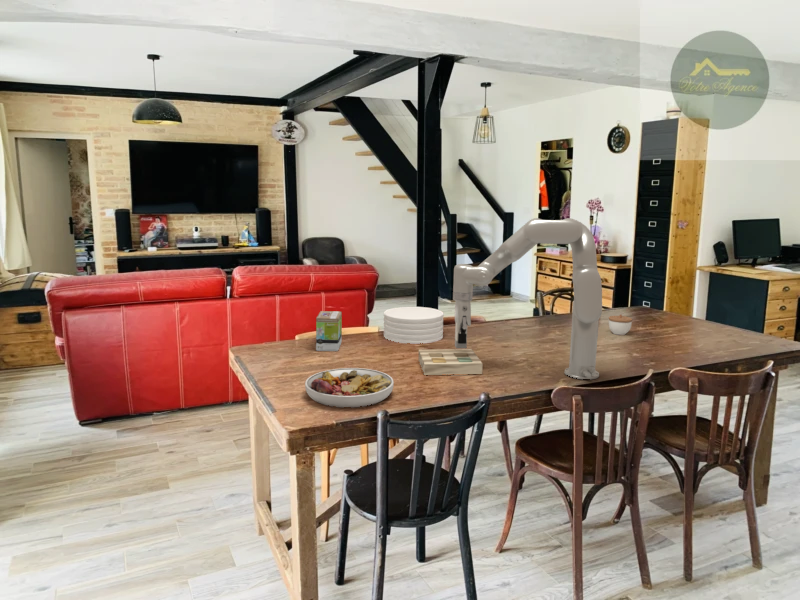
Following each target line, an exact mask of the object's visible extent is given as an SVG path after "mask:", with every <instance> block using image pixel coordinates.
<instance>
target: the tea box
mask: <svg viewBox="0 0 800 600" xmlns="http://www.w3.org/2000/svg"><path fill="white" fill-rule="evenodd" d="M342 313H343V312H342V311H337V310H336V311H331V310H330V311H327V310H326V311H325V310H320V312H318V314H317V316H316V318H315V320H316V321H315V323H316V324H315V327H316V329H315V335H316V336H315V350H316V351H318V352H319V351H320V352H338V351H339V350H340V348H341V344H342V342H343V341H342V337H343V335H342V333H343V332H342V331H343V329H342V328H343V327H342V326H343V325H342V324H343V323H342V322H343V321H342V319H343V318H342V316H343V314H342Z"/></svg>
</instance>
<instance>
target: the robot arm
mask: <svg viewBox="0 0 800 600" xmlns="http://www.w3.org/2000/svg"><path fill="white" fill-rule="evenodd" d="M537 244H542V245H543V244H544V245H545V244H546V245H547V244H548V245H549V244H550V245H555V244H556V245H570V248H571V257H572V278H571V280H572V284H573V301H572V311H571V314H572V315H571V332H570V333H571V334H570V348H569V349H570V350H569V364H568V365H569V366H568V367H566V368H565V369H564V375H565V376H567V375H568V376H567V377H569V376H570V378H572V377H573V378H572V379H576V378H577V379H576V380H583V379H590V380H595V379H598V378H599V377H600V372H599V371H598V370H596V365H597V364H596V363H597V349H598V336H599V319H600V318H601V316H602V313H603V293H602V291H603V288H602V278H601V274H600V272H599V271H598V261H597V260H598V259H597V248H596V243H595V238H594V235H593V233H592V232H591V230H590V229H589V227H587V226H586V225H585V223H583V222H581V221H579V220H577V219H574V218H570V217H569V218H567V217H566V218H564V219H555V220H554V219H542V218H538V217H535V218H531V219H529V220H528V221H527V222H526V223H524V225H522V226H521V227H520V228H519V229H518V230H517V231H515V232H514V233H513V234H512V235H511V236H510V237H509V238H507V239H506V240H505V241H504V242H503V243H502V244H501V245H500V246H499V247H498V248H497V249H496V250H494V252H493V253H491V254H490V255H489V256H488V257H487V258H486V259H484V260H483V261H482V262H481V263H480V264H479V265H477V266H473V265H471V264H466V263H464V264H463V263H461V264H456V265H454V268H453V288H452V291H453V292H452V300H453V301H455V302H454V322H455V324H456V323H457V325H458V326H459V333H458V343H459V344H466V337H467V338H468V327H471V325H472V319H471V318H472V308H471V302H472V301H473V294H474V293H473V292H474V285H475V286H482V287H483V286H487V285H489V284H491V282H492V280H493V279H494V278H495V277H496V276H497V275H498V274H499V273H501V272H502V271H503V270H505V268H507V267H508V266H509V265H511V264H513V263H515V262H517V261H518V260H520V259H521V258H522V257H523V256H524V255H526V254H527V253H528V252H529V251H530V250H532V249H533V248H534V247H535V246H537ZM461 324H463V326H461ZM461 327H462V328H461ZM466 333H467V334H466Z"/></svg>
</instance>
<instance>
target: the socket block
mask: <svg viewBox="0 0 800 600" xmlns="http://www.w3.org/2000/svg"><path fill="white" fill-rule="evenodd" d="M419 362H420V363H419ZM418 363H419V366H420V365H421V366H420V367H422V368H421V371H422V370H423V371H422V373H423V372H424V373H423V376H424V375H442V374H446V375H447V374H448V375H449V374H482V375H483V362H482V360H481V359H480V358H479V356H477V354H476V353H475V351H474V350H473V349H472V348H455V349H449V348H448V349H446V348H445V349H418Z"/></svg>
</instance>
